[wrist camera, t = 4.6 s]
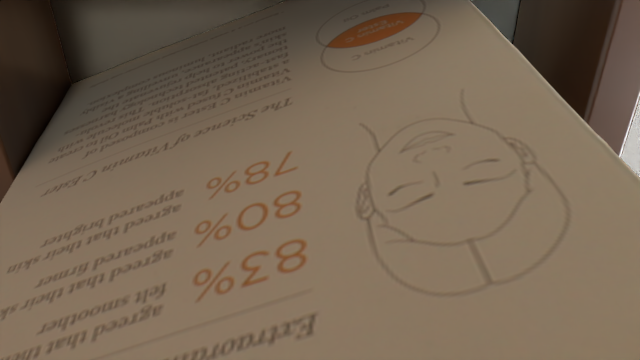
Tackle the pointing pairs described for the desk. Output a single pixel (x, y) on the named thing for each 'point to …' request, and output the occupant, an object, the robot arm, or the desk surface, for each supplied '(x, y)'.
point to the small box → (322, 201)
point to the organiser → (530, 39)
